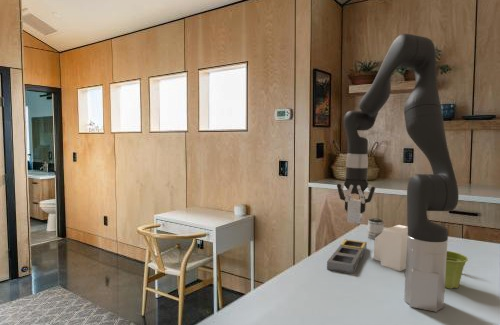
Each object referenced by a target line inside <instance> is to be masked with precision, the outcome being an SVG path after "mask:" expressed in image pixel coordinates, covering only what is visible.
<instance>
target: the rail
mask: <svg viewBox="0 0 500 325" xmlns="http://www.w3.org/2000/svg"><path fill="white" fill-rule="evenodd" d="M367 248H368V247H367V241H361V240H360V241H359V240H352V239H344V240H343V241H342V242H341V244H340V245H339V246H338V248H337V249H336V250H335V251H334V253H332V255H331V257H329V259H328V260H327V261H326V270H329V271H335V272H341V273H346V274H351V275H352V274H354V273H355V270H356V269H357V266H358V264H359V262H360V261H361V259H362V257H363V256H364V254H365V252H366V250H367Z"/></svg>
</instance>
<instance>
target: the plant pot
mask: <svg viewBox="0 0 500 325" xmlns="http://www.w3.org/2000/svg"><path fill="white" fill-rule="evenodd" d="M467 261H468V257H467V256H465V255H464V254H461V253H459V252H455V251H451V250H447V258H446V274H445V289H446V288H447V289H458V288H459V287H460V282H461V279H462V278H461V277H462V274H463V270H464V266H465V265H466V263H467Z"/></svg>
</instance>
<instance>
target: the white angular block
mask: <svg viewBox="0 0 500 325" xmlns="http://www.w3.org/2000/svg"><path fill="white" fill-rule="evenodd" d="M407 235H408V226H406V225H401V224H396V225H394V226H390V227H387V228H384V229H383V230H382V233H381V234H380V235H378V236H377V237H376V238H375V240H374V248H373V259H374V260H376V261H379V262H380V266H381V267H382V266H383V267H386V268H389V269H393V270H395V271H399V272H401V271H403V270H406V253H407Z"/></svg>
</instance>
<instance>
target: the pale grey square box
mask: <svg viewBox="0 0 500 325" xmlns="http://www.w3.org/2000/svg"><path fill="white" fill-rule="evenodd" d="M361 203H362V202H361V198H360V199H359V198H358V199H357V198H350V199H349V200H348V212H346V213H347V217H346V221H347V223H352V224H358V225H360V224H361V223H362V221H363V214H361Z"/></svg>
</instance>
